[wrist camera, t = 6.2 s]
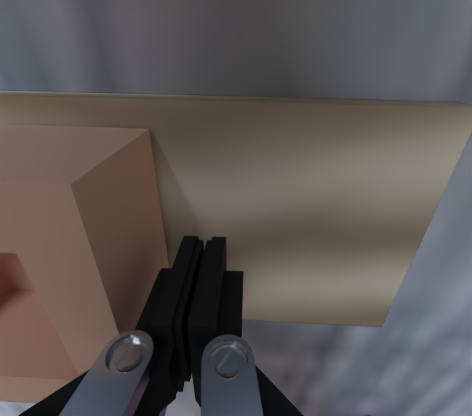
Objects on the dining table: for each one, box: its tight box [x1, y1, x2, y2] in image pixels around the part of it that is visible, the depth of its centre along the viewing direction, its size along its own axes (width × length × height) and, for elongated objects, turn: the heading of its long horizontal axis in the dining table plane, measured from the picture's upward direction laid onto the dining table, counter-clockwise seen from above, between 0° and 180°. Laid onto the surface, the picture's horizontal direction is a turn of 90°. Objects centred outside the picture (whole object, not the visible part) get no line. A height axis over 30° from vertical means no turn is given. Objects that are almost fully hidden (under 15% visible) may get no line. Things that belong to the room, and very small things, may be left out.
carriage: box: [0, 124, 169, 403], centre depth 10 cm, size 10×10×5 cm
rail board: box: [0, 90, 472, 327], centre depth 13 cm, size 12×28×2 cm, turn 89°
